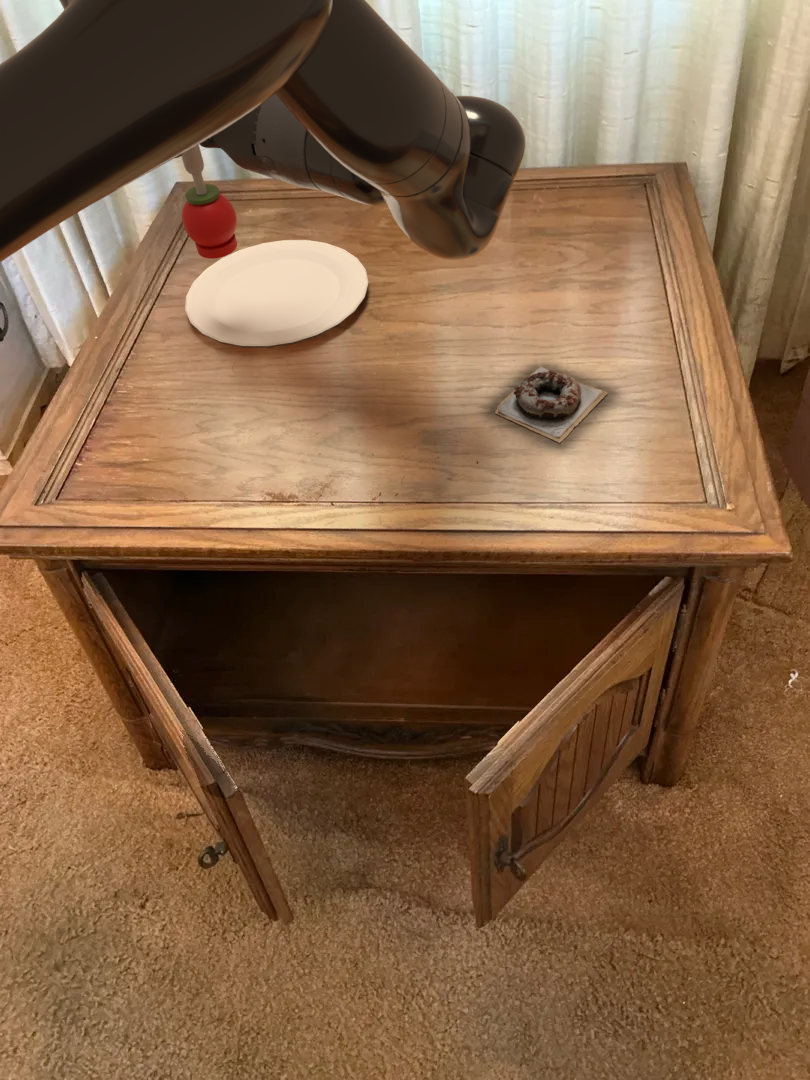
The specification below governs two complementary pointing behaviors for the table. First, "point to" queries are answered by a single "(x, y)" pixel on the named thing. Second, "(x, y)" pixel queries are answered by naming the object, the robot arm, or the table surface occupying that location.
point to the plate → (276, 293)
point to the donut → (550, 403)
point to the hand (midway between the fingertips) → (153, 91)
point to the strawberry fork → (207, 212)
